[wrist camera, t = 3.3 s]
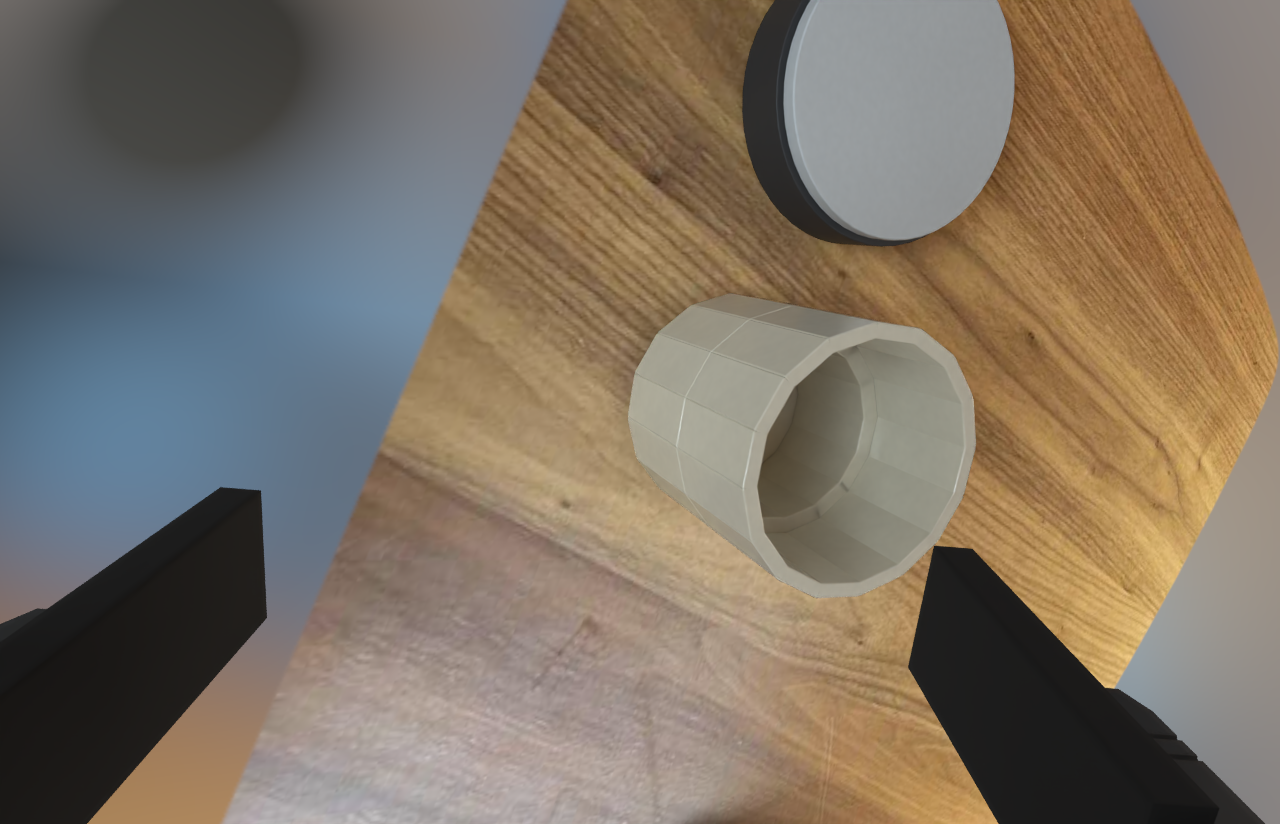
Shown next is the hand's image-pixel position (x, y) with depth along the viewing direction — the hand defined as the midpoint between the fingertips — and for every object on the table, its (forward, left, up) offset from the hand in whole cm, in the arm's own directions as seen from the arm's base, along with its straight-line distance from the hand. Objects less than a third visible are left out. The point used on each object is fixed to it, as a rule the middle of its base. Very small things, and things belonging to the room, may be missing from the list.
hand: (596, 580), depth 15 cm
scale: (-7, +23, -19) cm, 31 cm away
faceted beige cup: (+5, +13, -19) cm, 24 cm away
